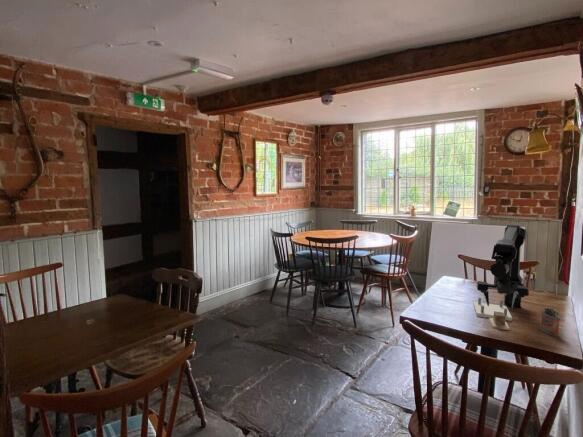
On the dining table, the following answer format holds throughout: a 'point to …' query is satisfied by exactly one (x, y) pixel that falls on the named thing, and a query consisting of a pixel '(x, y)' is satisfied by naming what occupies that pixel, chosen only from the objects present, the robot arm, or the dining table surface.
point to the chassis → (490, 310)
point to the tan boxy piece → (499, 321)
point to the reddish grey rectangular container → (550, 321)
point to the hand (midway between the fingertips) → (500, 307)
